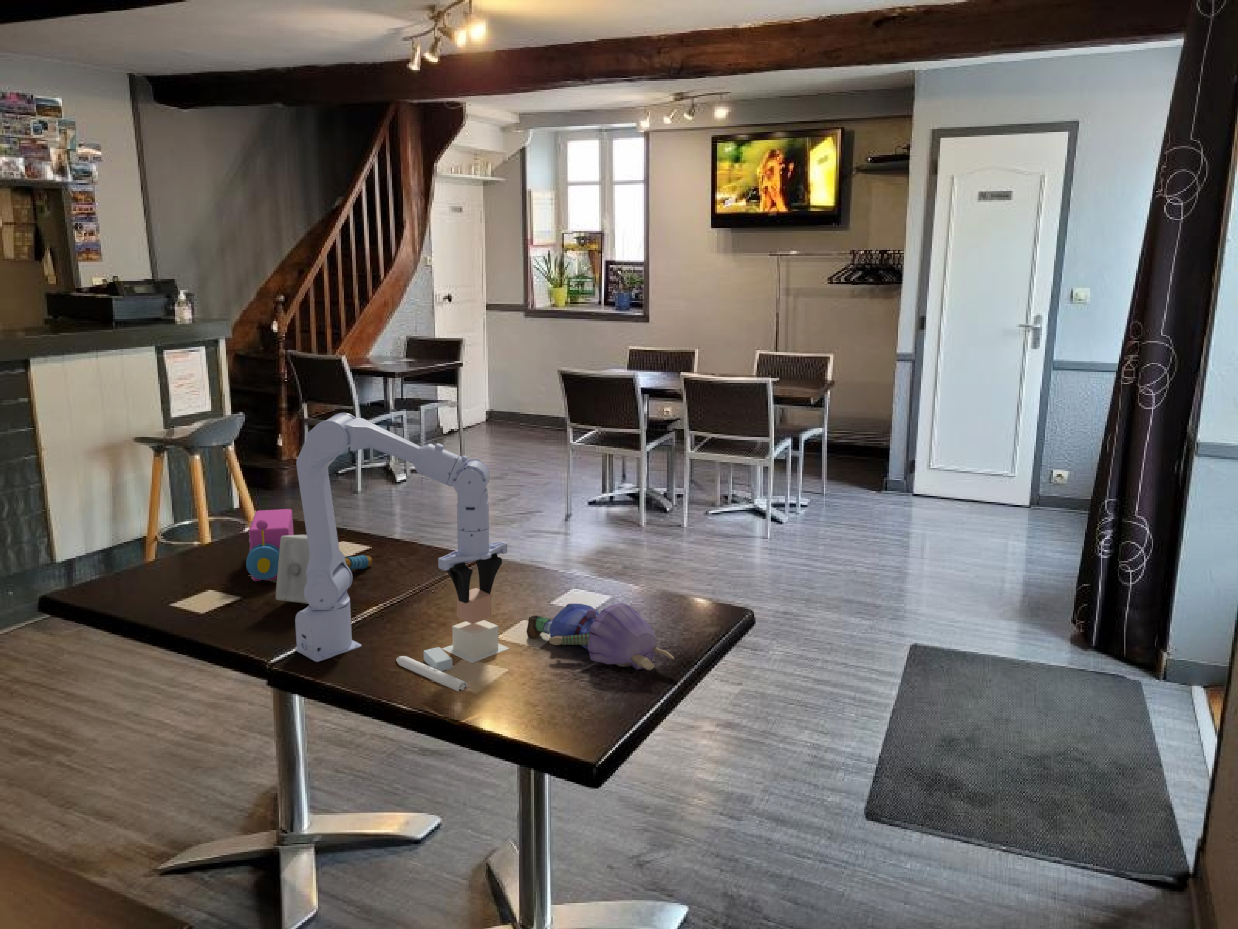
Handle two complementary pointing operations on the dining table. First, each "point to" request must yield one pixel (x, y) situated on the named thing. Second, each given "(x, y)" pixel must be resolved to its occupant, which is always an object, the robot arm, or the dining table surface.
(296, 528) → the dining table surface
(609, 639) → the toy
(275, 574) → the toy
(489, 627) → the base block
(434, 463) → the robot arm
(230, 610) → the dining table surface
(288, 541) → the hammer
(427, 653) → the brick
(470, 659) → the plate
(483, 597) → the top block
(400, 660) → the marker
